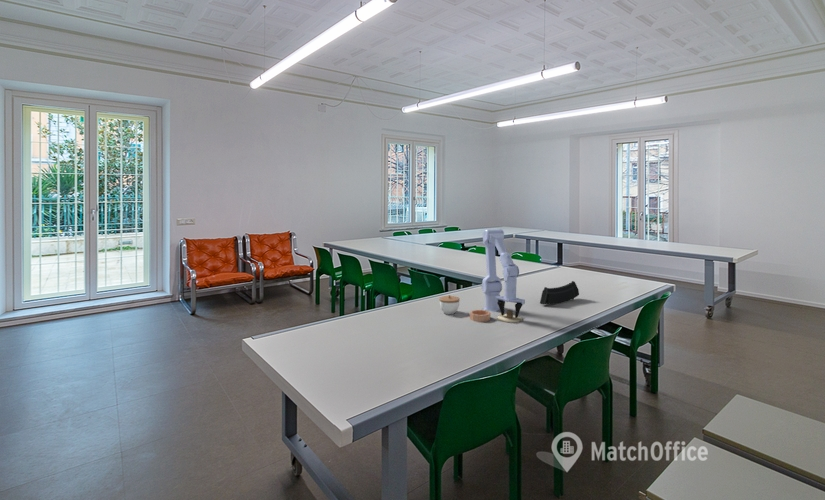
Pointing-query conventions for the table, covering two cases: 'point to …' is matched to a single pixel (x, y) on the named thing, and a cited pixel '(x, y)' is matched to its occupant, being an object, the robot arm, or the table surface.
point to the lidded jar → (449, 304)
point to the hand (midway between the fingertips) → (509, 316)
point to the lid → (509, 317)
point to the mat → (508, 322)
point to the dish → (480, 315)
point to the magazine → (559, 294)
